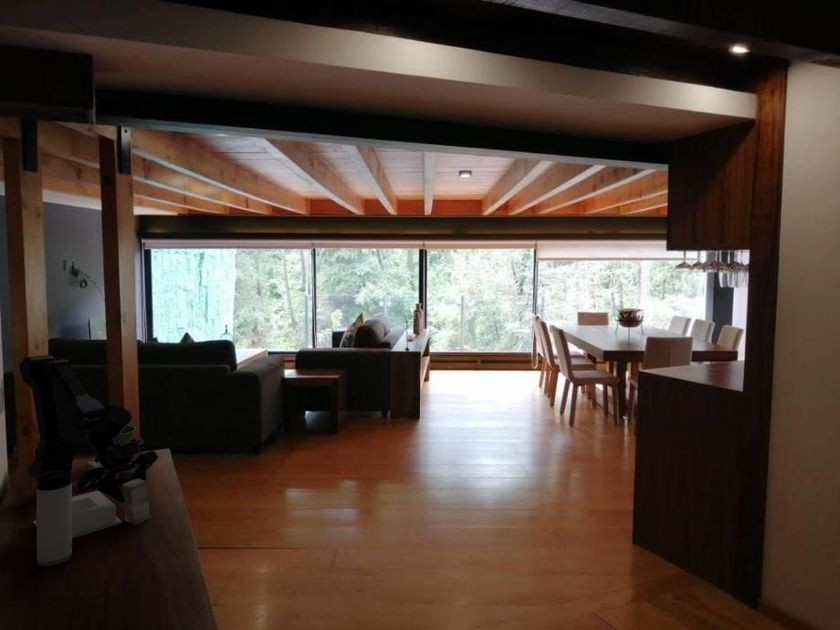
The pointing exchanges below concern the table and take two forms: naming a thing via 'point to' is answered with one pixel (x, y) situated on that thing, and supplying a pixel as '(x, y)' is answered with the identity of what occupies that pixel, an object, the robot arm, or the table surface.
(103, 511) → the socket block
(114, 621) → the table surface
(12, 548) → the table surface
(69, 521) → the travel mug
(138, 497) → the birch peg
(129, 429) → the plant pot
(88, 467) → the ceramic sculpture
